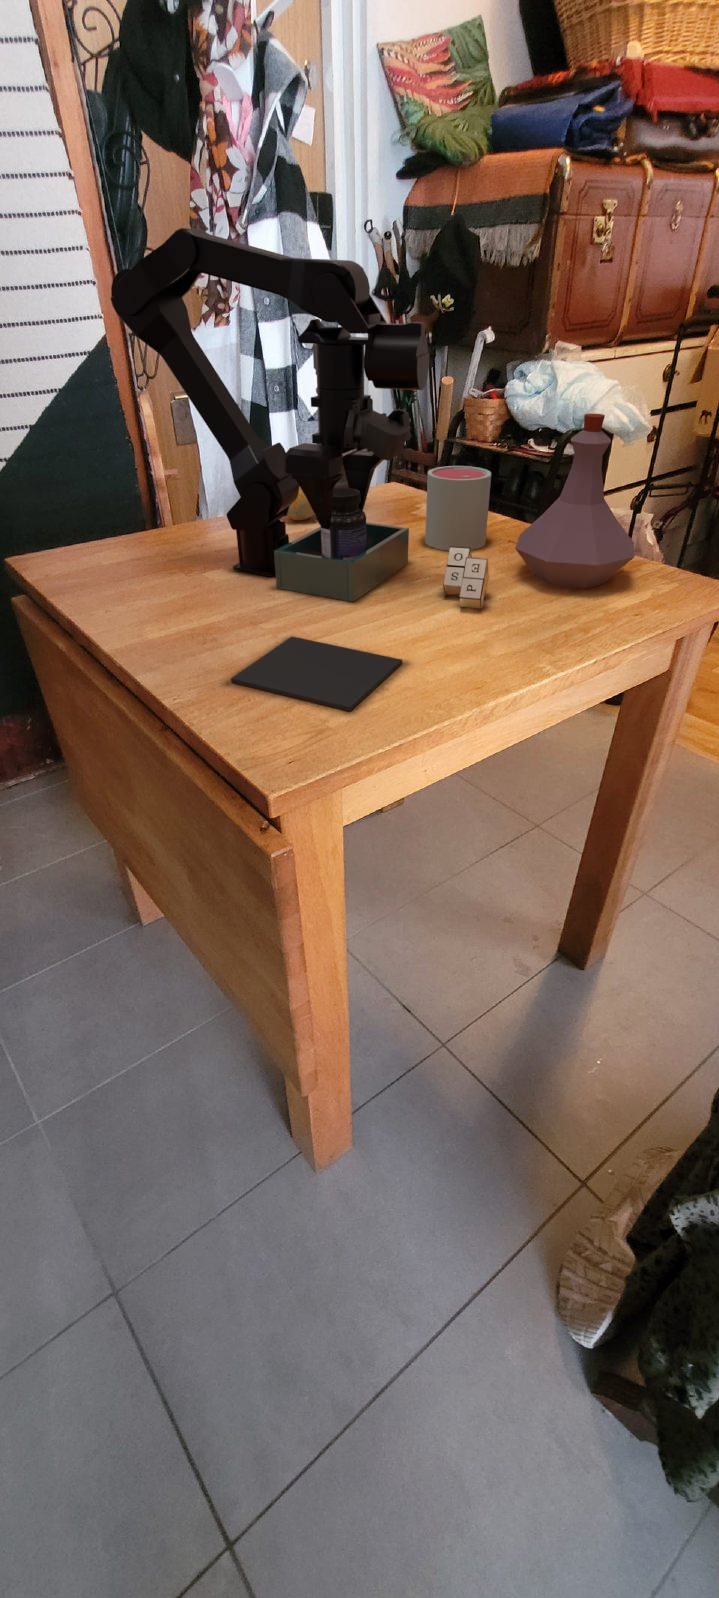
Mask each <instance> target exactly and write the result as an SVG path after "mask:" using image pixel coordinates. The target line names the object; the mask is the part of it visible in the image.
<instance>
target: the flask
mask: <svg viewBox="0 0 719 1598" xmlns="http://www.w3.org/2000/svg"><path fill="white" fill-rule="evenodd" d="M583 415H584V416H583V417H584V418H583V421H584V422H583V429H581V431H579V432H578V433H577V434H575V435H573V436H572V437H571V439H570V443H571V445H572V446H571V447H572V449H573V454H574V455H573V460H572V463H571V464H572V465H571V467H570V470H569V473H568V475H567V479H566V481H565V483H564V486H563V488H562V491H561V493H560V496H559V497H558V498H557V499H556V500H555V501H554V502H553V503H552V504H551V505H550V506H549V507H548V508H547V509H546V510H545V511H544V513H542V514H541V515H540V516H538V518H536V519H535V521H533V522H532V523H531V524H530V525H529V526H528V527H526V528H525V529H524V530H523V531H522V532H521V533H519V535H518V538H517V540H516V541H517V542H516V544H515V548H514V549H515V551H516V552H517V553H518V555H519V556H520V558H521V559H522V560H523V562H524V563H525V564H526V566H527V567H528V568H529V570H530V571H531V573H532V574H533V575H534V577H535V578H536V580H538V581H540V582H543V583H545V584H548V585H550V586H551V587H555V588H564V589H565V588H566V589H577V590H578V589H580V590H583V589H588V588H592V587H596V586H600V585H603V584H605V583H606V581H608V580H609V579H610V578H611V577H613V576H614V575H615V574H616V573H618V572H619V571H620V570H621V569H622V568H624V567H625V566H626V565H627V564H629V562H631V561H632V560H633V559H634V558H635V557H636V556H635V555H636V554H635V542H634V540H632V538H631V536H629V534H628V532H627V531H626V530H625V529H624V527H623V526H622V524H621V523H620V522H619V521H618V519H617V518H616V516H615V515H614V513H613V511H612V509H611V508H610V506H609V504H608V502H607V501H606V499H605V493H604V491H605V490H604V482H603V469H602V468H603V455H604V454H605V453H606V451H607V449H608V447H609V446H610V444H611V443H612V441H611V438H610V437H609V436H608V435H607V434H606V433H605V432H604V431H603V430H602V428H603V424H604V421H605V416H606V415H605V414H602V413H584V414H583Z"/></svg>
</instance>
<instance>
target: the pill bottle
mask: <svg viewBox="0 0 719 1598" xmlns="http://www.w3.org/2000/svg"><path fill="white" fill-rule="evenodd" d="M360 502H361V496H360V491H359V490H357V489H352V488H336V489H333V503H332V517H331V524H330V528H329V529H323V528H321V543H322V556H323V557H329V558H335V559H341V560H347V561H351V560H353V559H354V558H356V557H357V556H359V555H361V554H362V553H364V552H365V551H367V546H366V522H367V515H366V513H365V511H364V509H363V510H361V509H359V504H360Z"/></svg>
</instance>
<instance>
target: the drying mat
mask: <svg viewBox="0 0 719 1598" xmlns="http://www.w3.org/2000/svg"><path fill="white" fill-rule="evenodd" d="M402 664H403V659H401V658H397V657H392V656H386V655H381V654H379V653H378V654H377V653H372V652H369V651H363V650H358V649H353V648H348V647H344V646H339V645H335V644H330V643H324V642H320V641H315V640H310V639H305V638H301V637H296V636H290V637H289V638H288V639H286V640H285V641H283V642H282V643H280V644H278V645H277V646H276V647H274V648H273V649H271V650H270V651H268V652H267V653H266V654H264V655H263V656H262V657H260V658H258V659H256V660H255V661H254V662H253V663H251V664H250V665H248V666H246V667H245V668H244V669H243V670H241V671H239V672H237V674H235V675H233V676H232V677H231V678H230V682H231V683H232V684H235V685H241V686H245V687H248V688H252V689H257V690H261V691H265V692H269V693H273V694H276V695H282V696H284V697H289V698H292V699H297V700H301V701H306V702H310V703H312V704H313V703H314V704H318V705H321V706H326V707H330V708H334V709H338V710H343V711H347V712H351V711H352V710H353V709H354V708H356V707H357V706H358V705H359V704H360V703H361V702H362V701H363V700H364V699H365V698H367V697H368V696H369V695H370V694H371V693H372V692H373V691H374V690H376V688H377V687H379V686H380V684H382V683H383V682H384V681H385V680H386V679H387V678H388V677H390V676H391V675H392V674H393V673H394V672H395V671H396V670H397V669H399V667H401V665H402Z"/></svg>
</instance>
